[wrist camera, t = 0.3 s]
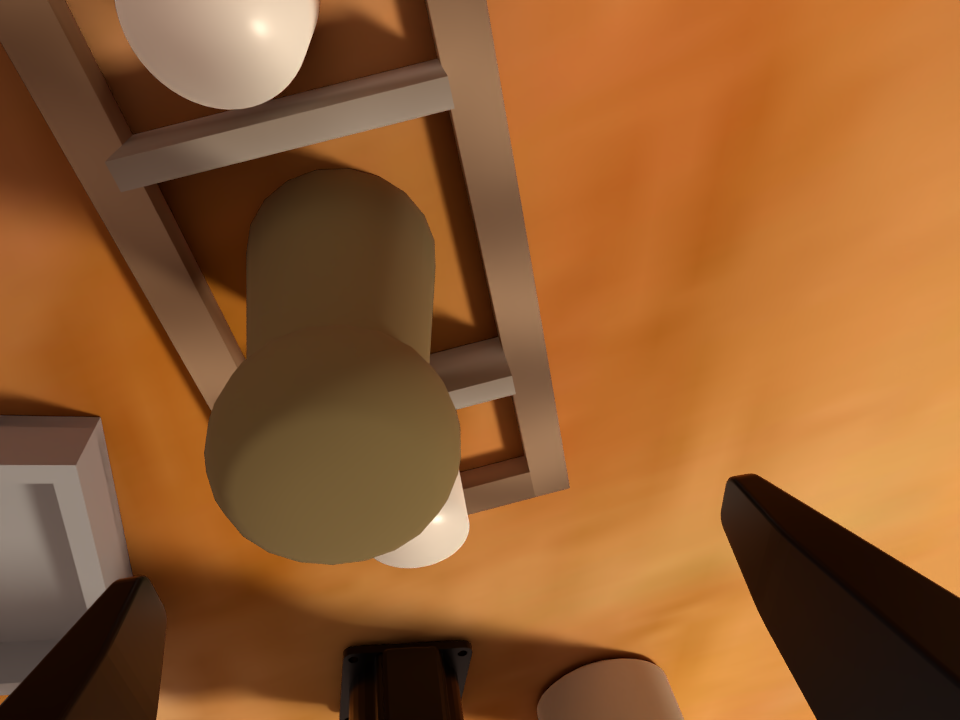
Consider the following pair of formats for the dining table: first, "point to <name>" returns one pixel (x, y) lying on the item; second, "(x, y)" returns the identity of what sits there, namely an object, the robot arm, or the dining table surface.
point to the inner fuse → (435, 535)
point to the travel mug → (611, 693)
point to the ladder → (292, 124)
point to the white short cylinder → (221, 46)
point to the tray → (53, 534)
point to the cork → (335, 377)
